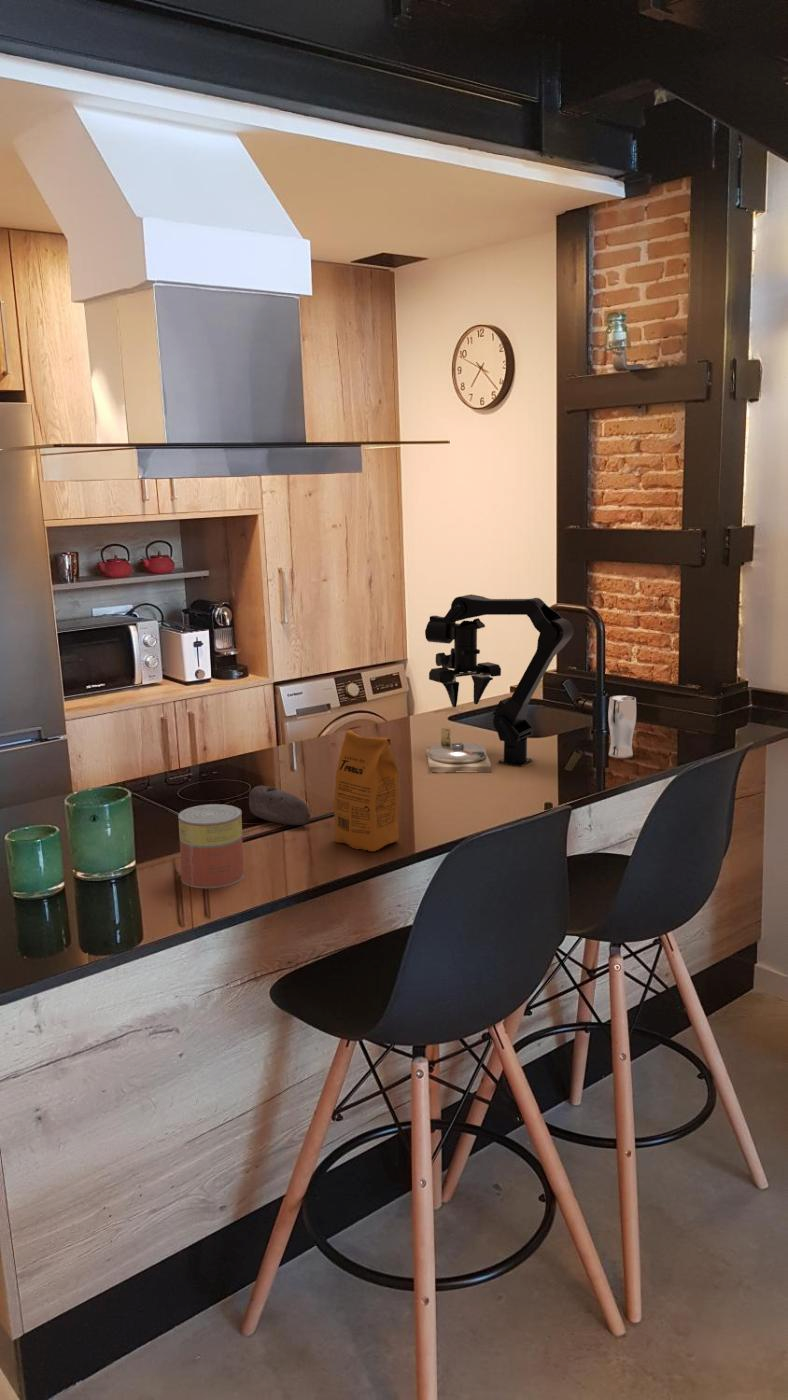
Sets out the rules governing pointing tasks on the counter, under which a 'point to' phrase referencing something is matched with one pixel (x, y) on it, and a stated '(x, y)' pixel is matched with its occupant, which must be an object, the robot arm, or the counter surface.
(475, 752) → the handwheel
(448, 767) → the base plate
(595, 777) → the counter surface
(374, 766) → the coffee package
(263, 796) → the perforated stone tool
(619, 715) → the beer glass
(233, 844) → the canned food
